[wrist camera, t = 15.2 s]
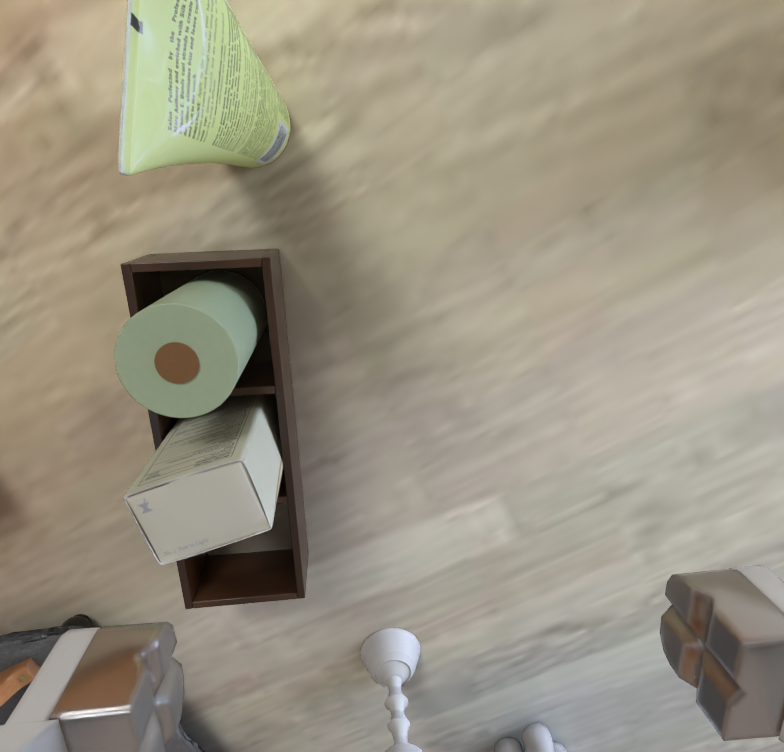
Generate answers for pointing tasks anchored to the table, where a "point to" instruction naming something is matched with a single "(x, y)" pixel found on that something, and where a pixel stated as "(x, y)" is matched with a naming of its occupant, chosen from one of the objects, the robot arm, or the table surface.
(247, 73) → the tube
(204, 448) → the cosmetic box
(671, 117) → the table surface
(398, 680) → the chalice
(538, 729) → the round bodied animal figurine
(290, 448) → the rack
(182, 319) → the towel roll
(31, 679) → the serving tray
